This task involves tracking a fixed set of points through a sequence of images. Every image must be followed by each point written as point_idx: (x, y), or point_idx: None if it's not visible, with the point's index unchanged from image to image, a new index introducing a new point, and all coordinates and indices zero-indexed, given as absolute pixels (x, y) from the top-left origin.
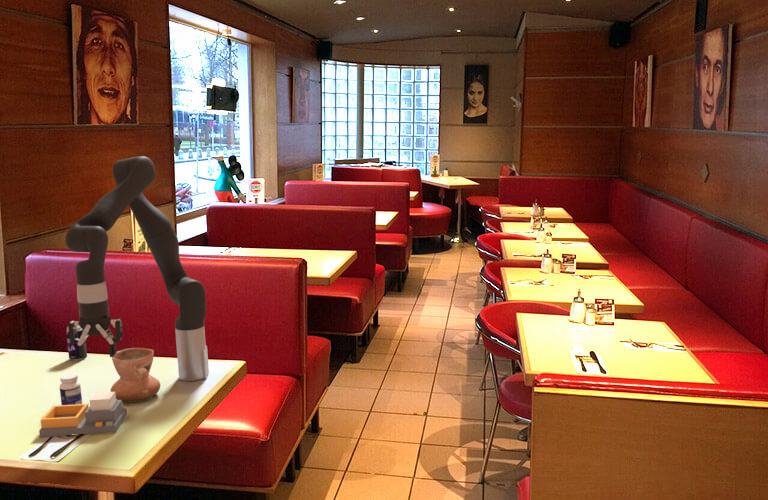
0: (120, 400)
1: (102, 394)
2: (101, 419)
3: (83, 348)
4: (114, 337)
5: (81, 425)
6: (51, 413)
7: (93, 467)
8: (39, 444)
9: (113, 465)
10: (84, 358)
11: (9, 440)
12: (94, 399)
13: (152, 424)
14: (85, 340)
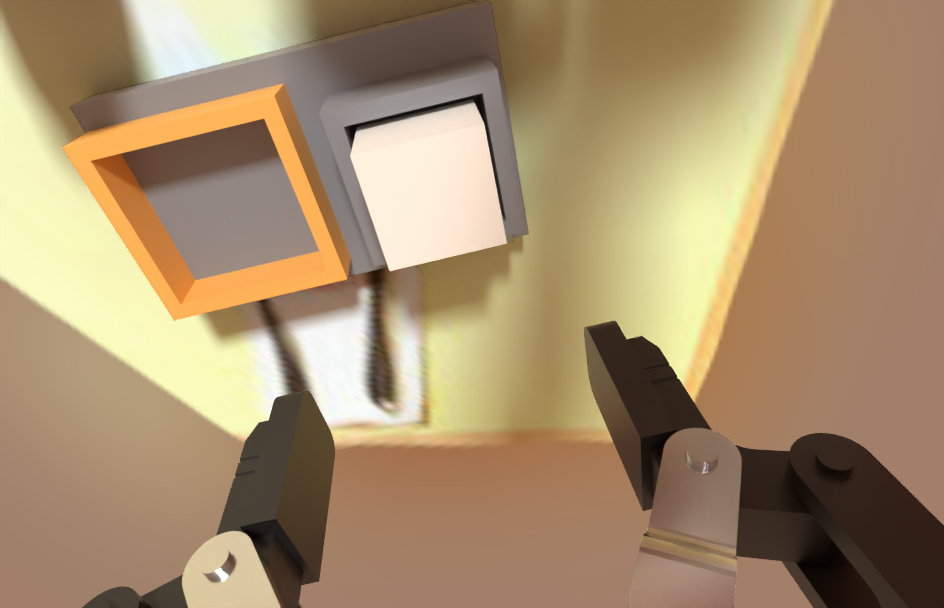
0: (494, 81)
1: (419, 181)
2: None
3: (321, 550)
4: (747, 510)
5: (362, 248)
6: (135, 217)
7: (556, 434)
8: (260, 343)
9: None
10: (329, 441)
11: (96, 331)
12: (414, 260)
13: (663, 116)
14: (265, 568)
